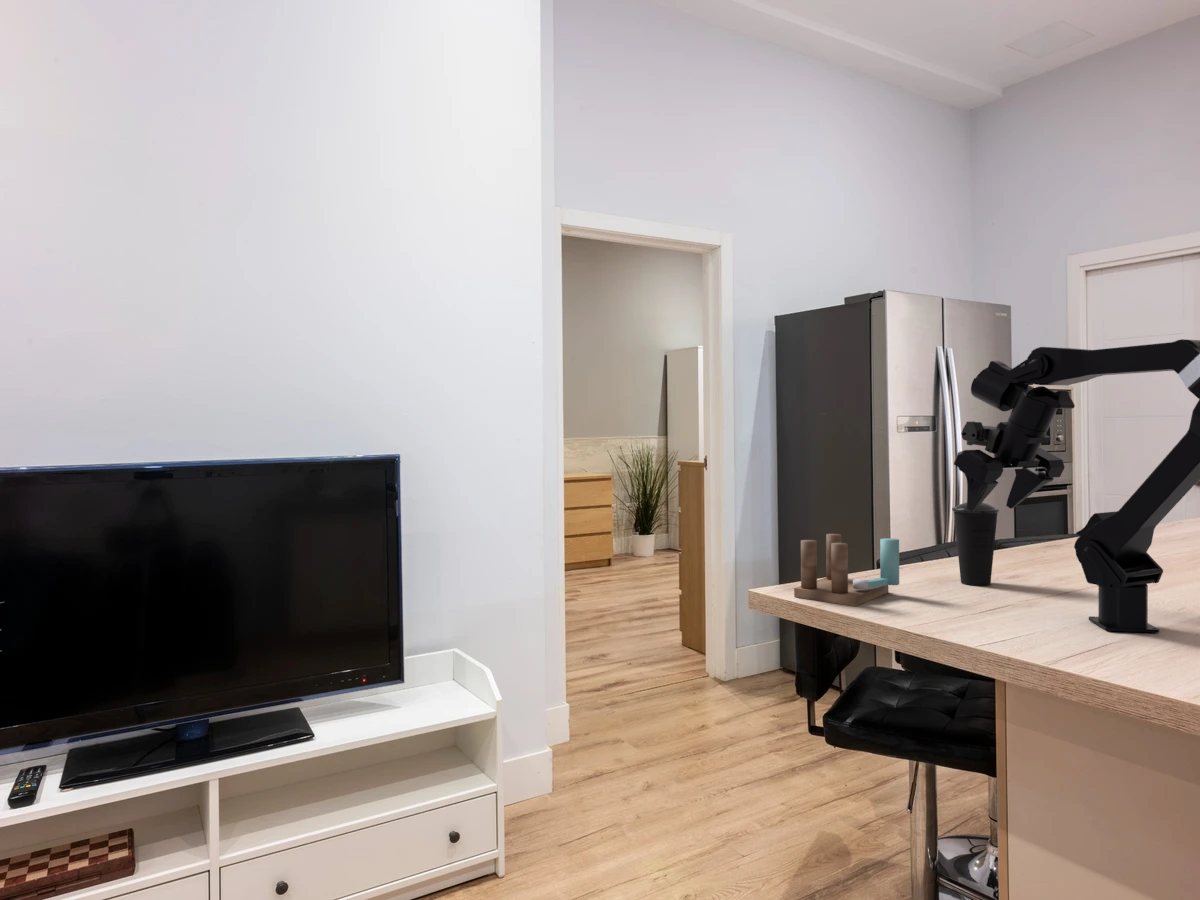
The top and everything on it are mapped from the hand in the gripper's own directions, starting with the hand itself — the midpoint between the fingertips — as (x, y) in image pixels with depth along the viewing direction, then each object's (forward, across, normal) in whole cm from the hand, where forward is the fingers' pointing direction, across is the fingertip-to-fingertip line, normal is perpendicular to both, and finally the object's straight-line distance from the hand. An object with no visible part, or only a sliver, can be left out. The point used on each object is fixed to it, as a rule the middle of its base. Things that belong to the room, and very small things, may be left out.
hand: (989, 508), depth 126 cm
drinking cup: (+18, -8, -2) cm, 19 cm away
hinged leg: (+15, +16, -2) cm, 23 cm away
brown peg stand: (+19, +20, -5) cm, 28 cm away
